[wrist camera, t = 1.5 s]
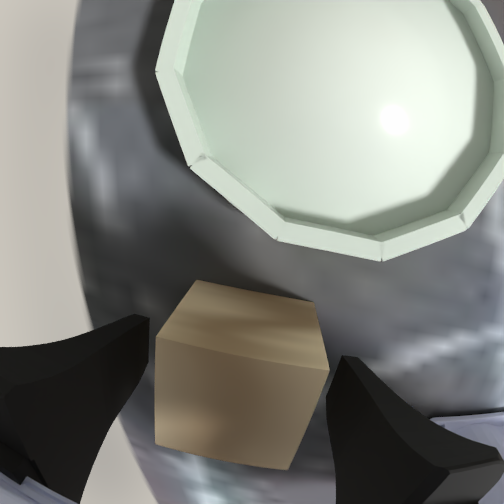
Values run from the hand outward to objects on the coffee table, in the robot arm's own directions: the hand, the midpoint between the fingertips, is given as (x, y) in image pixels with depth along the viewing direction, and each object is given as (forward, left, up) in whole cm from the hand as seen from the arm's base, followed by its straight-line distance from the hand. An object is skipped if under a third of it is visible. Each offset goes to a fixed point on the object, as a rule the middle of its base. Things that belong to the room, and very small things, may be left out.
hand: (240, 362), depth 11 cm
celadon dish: (-2, -11, -1) cm, 11 cm away
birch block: (0, 0, -2) cm, 2 cm away
